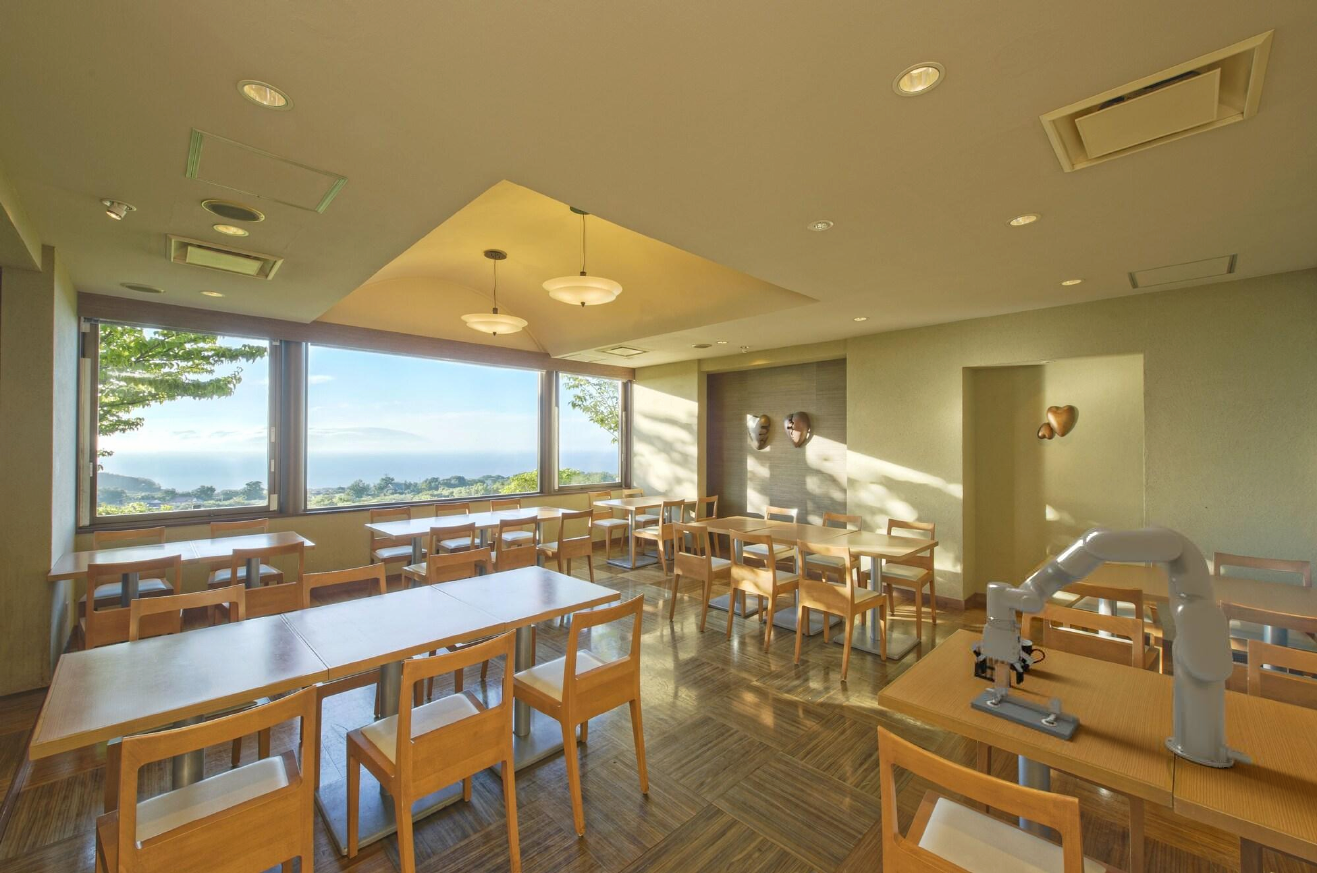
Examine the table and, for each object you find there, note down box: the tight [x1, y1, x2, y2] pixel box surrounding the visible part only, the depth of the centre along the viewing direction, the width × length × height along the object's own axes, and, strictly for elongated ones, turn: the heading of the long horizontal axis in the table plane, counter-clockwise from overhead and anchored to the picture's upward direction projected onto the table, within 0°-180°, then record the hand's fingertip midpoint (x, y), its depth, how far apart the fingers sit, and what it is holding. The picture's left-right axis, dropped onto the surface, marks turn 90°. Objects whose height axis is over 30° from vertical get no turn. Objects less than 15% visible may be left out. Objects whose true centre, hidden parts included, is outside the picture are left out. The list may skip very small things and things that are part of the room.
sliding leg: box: [992, 663, 1010, 705], centre depth 165 cm, size 3×9×10 cm, turn 131°
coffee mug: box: [1010, 637, 1046, 674], centre depth 191 cm, size 12×9×10 cm
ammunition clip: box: [974, 646, 1012, 688], centre depth 182 cm, size 11×2×12 cm, turn 40°
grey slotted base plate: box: [970, 687, 1081, 742], centre depth 159 cm, size 24×14×6 cm, turn 41°
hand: (1001, 677), depth 167 cm, fingers open, 9 cm apart
